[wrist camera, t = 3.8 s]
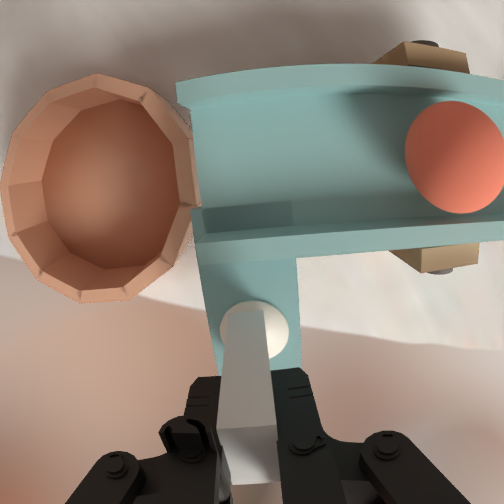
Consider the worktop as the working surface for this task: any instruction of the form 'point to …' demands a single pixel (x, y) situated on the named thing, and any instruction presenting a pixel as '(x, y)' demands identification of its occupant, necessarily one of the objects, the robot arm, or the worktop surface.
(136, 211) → the bowl
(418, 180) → the ball
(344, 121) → the lever
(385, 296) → the worktop surface
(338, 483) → the robot arm
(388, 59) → the stand
